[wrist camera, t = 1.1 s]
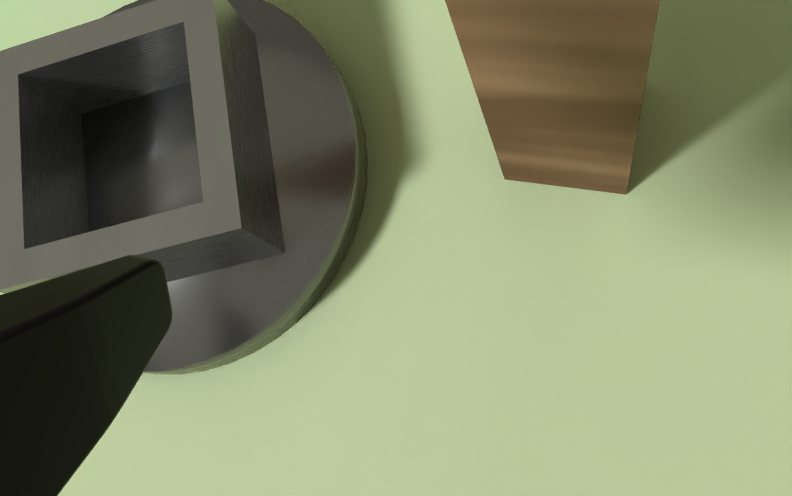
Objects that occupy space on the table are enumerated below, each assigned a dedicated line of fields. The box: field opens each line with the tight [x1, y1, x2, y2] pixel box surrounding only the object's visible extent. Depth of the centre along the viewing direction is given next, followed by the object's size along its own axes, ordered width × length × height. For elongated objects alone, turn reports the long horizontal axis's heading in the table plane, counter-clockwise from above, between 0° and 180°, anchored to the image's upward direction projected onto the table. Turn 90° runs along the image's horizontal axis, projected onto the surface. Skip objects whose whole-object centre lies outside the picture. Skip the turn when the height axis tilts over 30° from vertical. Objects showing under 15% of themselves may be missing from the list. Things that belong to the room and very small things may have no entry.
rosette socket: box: [0, 0, 367, 374], centre depth 23 cm, size 13×13×4 cm
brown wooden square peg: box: [445, 0, 659, 194], centre depth 16 cm, size 4×4×13 cm
